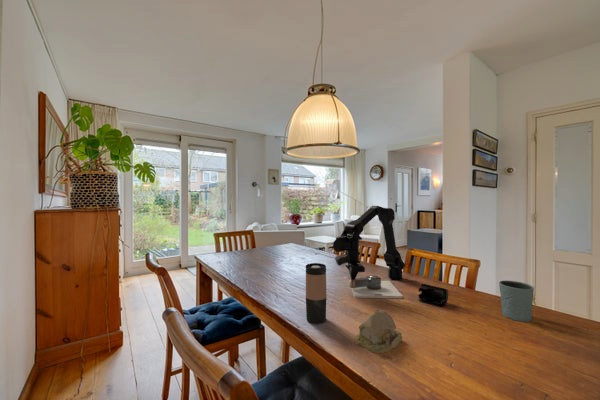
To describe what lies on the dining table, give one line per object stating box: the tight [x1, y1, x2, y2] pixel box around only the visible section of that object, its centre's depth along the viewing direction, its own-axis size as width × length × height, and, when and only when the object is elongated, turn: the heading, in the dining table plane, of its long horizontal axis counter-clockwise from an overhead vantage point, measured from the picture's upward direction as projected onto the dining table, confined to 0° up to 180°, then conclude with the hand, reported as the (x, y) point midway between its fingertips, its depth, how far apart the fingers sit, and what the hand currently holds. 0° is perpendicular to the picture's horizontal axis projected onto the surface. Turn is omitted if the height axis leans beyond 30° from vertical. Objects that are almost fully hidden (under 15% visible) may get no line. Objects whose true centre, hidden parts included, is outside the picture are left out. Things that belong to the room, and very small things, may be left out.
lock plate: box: [348, 279, 404, 299], centre depth 126 cm, size 21×21×1 cm
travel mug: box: [305, 262, 327, 325], centre depth 96 cm, size 8×8×20 cm
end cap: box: [418, 283, 449, 309], centre depth 111 cm, size 10×7×7 cm
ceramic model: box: [354, 309, 403, 354], centre depth 81 cm, size 14×11×10 cm
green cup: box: [498, 280, 535, 323], centre depth 97 cm, size 10×10×12 cm
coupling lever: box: [349, 274, 382, 290], centre depth 125 cm, size 16×7×5 cm, turn 104°
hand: (352, 281), depth 126 cm, fingers closed
